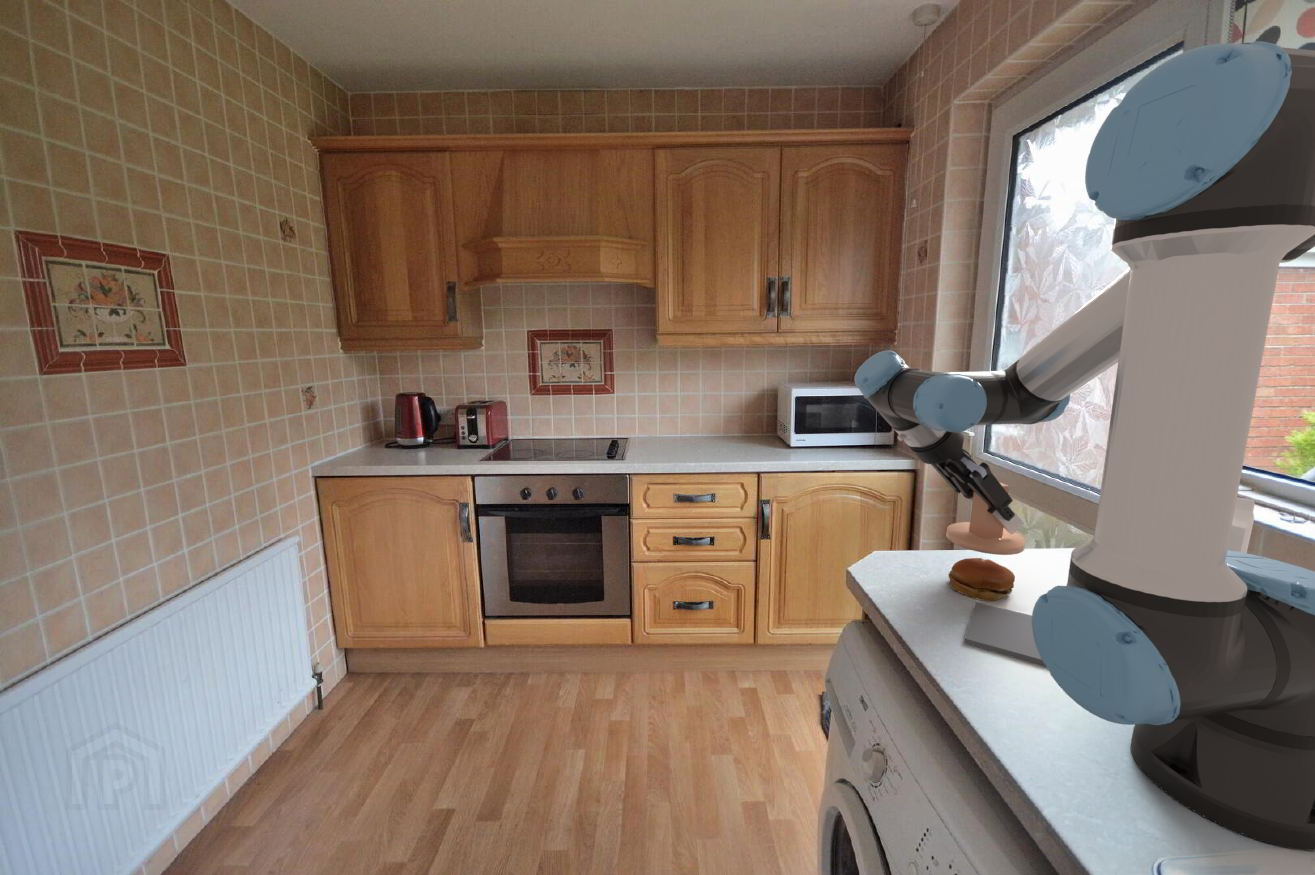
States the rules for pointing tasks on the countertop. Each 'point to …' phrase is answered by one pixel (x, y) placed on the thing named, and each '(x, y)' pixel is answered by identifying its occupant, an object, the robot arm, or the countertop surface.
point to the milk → (1241, 525)
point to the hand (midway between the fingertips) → (1006, 523)
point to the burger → (981, 579)
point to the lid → (985, 532)
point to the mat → (1002, 632)
